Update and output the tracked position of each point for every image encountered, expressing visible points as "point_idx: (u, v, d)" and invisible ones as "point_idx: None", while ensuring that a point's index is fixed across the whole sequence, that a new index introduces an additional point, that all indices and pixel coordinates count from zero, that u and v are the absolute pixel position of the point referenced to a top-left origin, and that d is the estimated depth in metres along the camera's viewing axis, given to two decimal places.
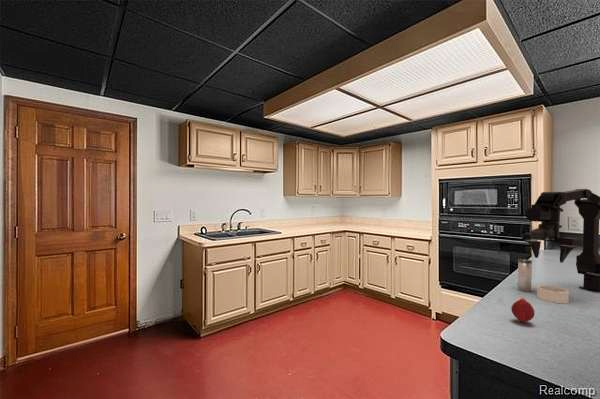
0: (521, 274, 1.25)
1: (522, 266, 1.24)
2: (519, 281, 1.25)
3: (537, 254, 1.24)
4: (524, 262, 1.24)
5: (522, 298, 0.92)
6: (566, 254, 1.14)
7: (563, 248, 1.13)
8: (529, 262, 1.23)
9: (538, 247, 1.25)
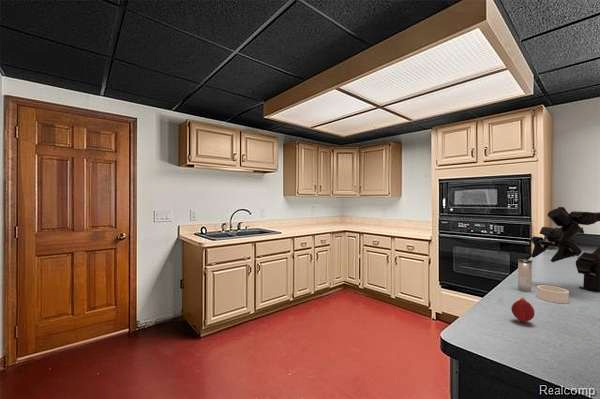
0: (521, 274, 1.25)
1: (522, 266, 1.24)
2: (519, 281, 1.25)
3: (535, 255, 1.30)
4: (524, 262, 1.24)
5: (522, 298, 0.92)
6: (561, 257, 1.20)
7: (562, 248, 1.20)
8: (529, 262, 1.23)
9: (540, 251, 1.31)
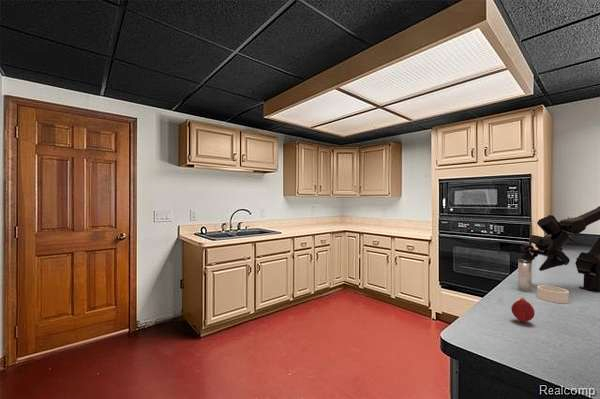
0: (521, 274, 1.25)
1: (522, 266, 1.24)
2: (519, 281, 1.25)
3: None
4: (524, 262, 1.24)
5: (522, 298, 0.92)
6: (549, 266, 1.20)
7: (550, 256, 1.19)
8: (529, 262, 1.23)
9: (529, 259, 1.31)
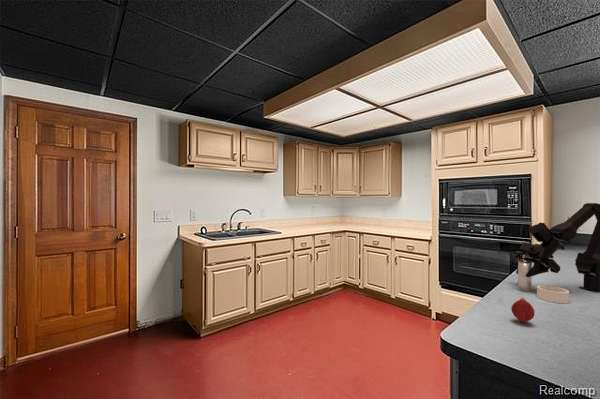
0: (521, 274, 1.25)
1: (522, 266, 1.24)
2: (519, 281, 1.25)
3: None
4: (524, 262, 1.24)
5: (522, 298, 0.92)
6: (535, 273, 1.22)
7: (536, 263, 1.21)
8: (529, 262, 1.23)
9: None
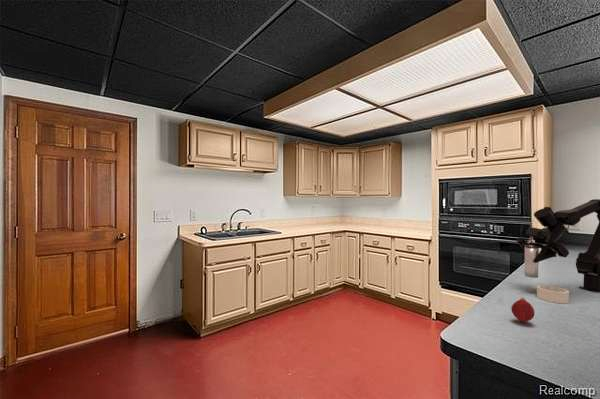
0: (528, 259, 1.21)
1: (529, 251, 1.21)
2: (526, 267, 1.22)
3: None
4: (531, 247, 1.21)
5: (522, 298, 0.92)
6: (543, 258, 1.19)
7: (544, 248, 1.18)
8: (536, 247, 1.20)
9: None
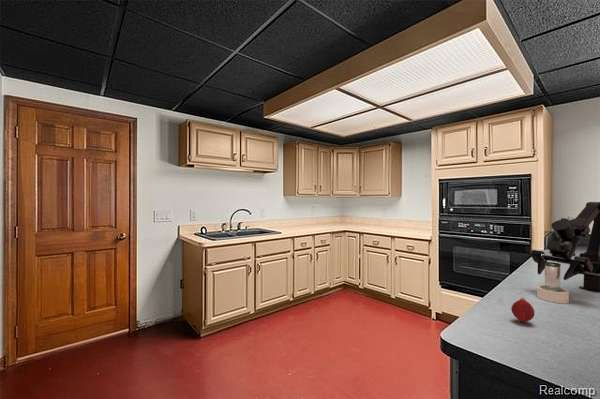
0: (551, 279, 1.13)
1: (552, 270, 1.13)
2: (549, 287, 1.14)
3: (540, 271, 1.18)
4: (555, 266, 1.13)
5: (522, 298, 0.92)
6: (572, 274, 1.11)
7: (574, 264, 1.10)
8: (559, 265, 1.13)
9: (543, 267, 1.20)
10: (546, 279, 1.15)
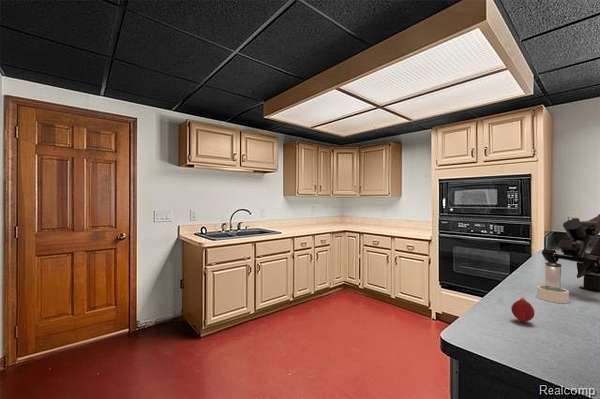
0: (551, 279, 1.13)
1: (553, 270, 1.13)
2: (549, 287, 1.14)
3: None
4: (555, 266, 1.13)
5: (522, 298, 0.92)
6: (585, 273, 1.14)
7: (587, 262, 1.13)
8: (560, 266, 1.13)
9: None
10: (546, 279, 1.15)
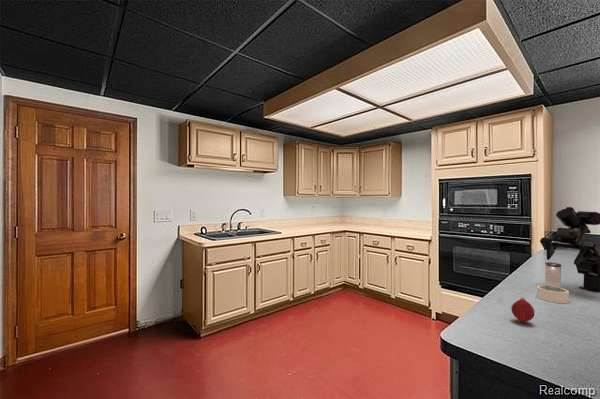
0: (551, 279, 1.13)
1: (553, 270, 1.13)
2: (549, 287, 1.14)
3: (549, 257, 1.26)
4: (555, 266, 1.13)
5: (522, 298, 0.92)
6: (582, 259, 1.17)
7: (584, 249, 1.16)
8: (560, 266, 1.13)
9: (552, 253, 1.27)
10: (546, 279, 1.15)
